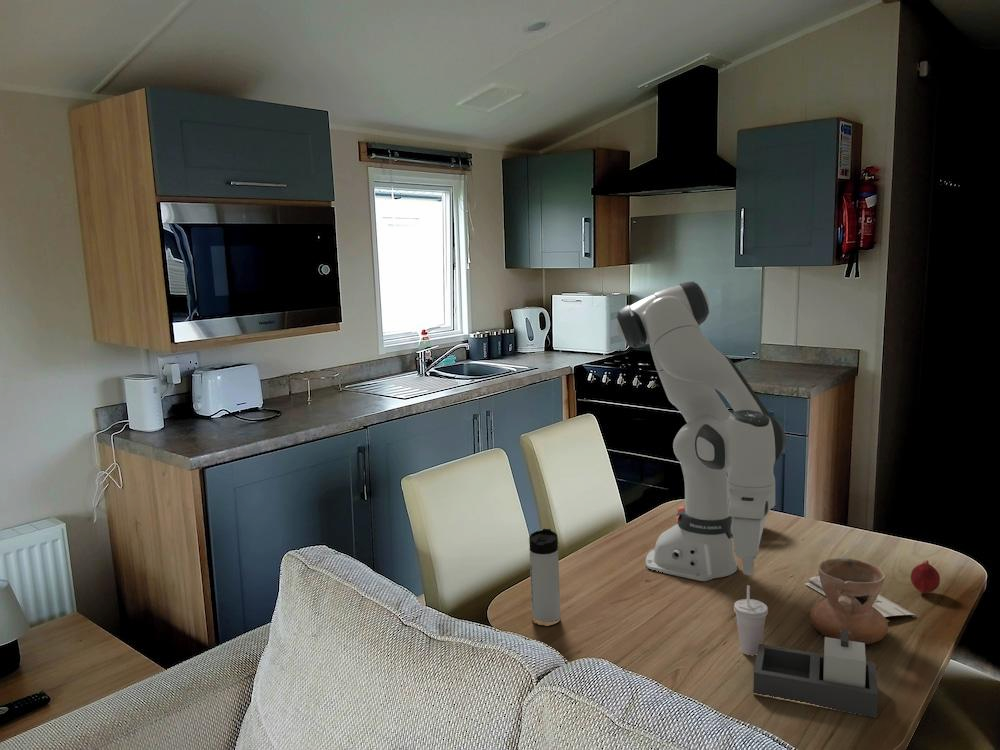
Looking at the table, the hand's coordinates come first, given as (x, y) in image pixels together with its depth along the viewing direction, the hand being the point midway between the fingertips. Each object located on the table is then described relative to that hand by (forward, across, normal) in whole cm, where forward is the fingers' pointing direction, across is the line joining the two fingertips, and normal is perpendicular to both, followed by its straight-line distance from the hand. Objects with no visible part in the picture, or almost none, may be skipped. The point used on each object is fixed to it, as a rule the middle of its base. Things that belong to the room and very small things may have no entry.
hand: (751, 563), depth 147 cm
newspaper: (+20, -30, +20) cm, 41 cm away
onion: (+19, -38, +34) cm, 55 cm away
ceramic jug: (+19, -14, +18) cm, 30 cm away
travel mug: (+18, +1, -43) cm, 47 cm away
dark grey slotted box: (+19, +7, +12) cm, 23 cm away
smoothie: (+19, 0, 0) cm, 19 cm away
